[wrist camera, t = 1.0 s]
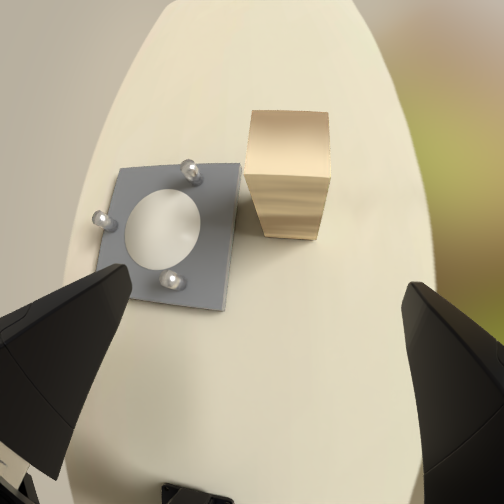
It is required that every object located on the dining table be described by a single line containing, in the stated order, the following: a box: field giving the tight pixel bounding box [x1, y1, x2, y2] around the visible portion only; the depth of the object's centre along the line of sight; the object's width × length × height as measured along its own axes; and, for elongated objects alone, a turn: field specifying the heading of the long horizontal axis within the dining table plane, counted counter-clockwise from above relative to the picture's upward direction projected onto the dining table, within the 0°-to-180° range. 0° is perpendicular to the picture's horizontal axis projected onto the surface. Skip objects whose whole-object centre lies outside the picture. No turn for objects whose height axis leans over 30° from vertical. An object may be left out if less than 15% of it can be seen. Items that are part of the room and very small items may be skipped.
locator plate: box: [92, 159, 242, 311], centre depth 22 cm, size 12×12×4 cm
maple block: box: [244, 110, 331, 240], centre depth 18 cm, size 4×4×10 cm
